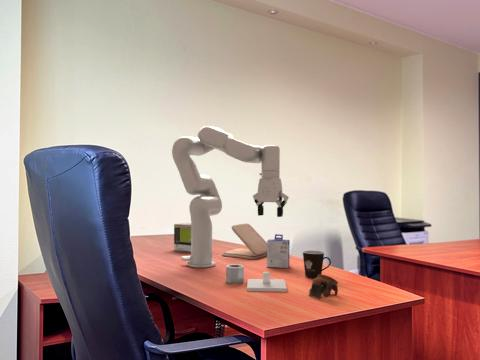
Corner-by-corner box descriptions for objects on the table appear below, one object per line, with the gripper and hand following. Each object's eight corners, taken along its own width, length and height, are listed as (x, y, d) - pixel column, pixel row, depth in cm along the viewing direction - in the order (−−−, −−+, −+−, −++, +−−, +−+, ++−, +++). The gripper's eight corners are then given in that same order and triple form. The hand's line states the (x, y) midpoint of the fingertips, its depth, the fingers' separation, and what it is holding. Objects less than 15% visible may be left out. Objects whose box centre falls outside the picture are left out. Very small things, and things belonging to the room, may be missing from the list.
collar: (225, 283, 169) (225, 267, 169) (227, 279, 176) (227, 264, 176) (243, 283, 169) (243, 267, 169) (243, 279, 176) (243, 264, 175)
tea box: (206, 250, 247) (206, 223, 247) (194, 252, 238) (195, 225, 238) (184, 248, 255) (185, 222, 255) (173, 250, 246) (173, 223, 246)
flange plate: (246, 291, 158) (247, 276, 158) (247, 281, 172) (248, 268, 172) (286, 291, 158) (286, 277, 158) (284, 282, 172) (284, 269, 172)
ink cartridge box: (289, 266, 204) (290, 234, 204) (288, 268, 199) (289, 235, 199) (268, 265, 206) (268, 233, 206) (266, 267, 201) (266, 235, 201)
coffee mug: (298, 275, 185) (298, 251, 185) (316, 273, 188) (316, 250, 188) (314, 281, 174) (314, 255, 174) (332, 279, 177) (332, 254, 177)
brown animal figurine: (303, 294, 156) (311, 272, 158) (326, 306, 157) (334, 284, 159) (316, 294, 144) (324, 270, 147) (341, 306, 145) (349, 283, 148)
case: (255, 260, 219) (256, 227, 219) (219, 256, 229) (220, 225, 229) (273, 254, 237) (274, 224, 237) (239, 251, 247) (239, 222, 247)
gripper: (248, 174, 189) (248, 215, 189) (283, 174, 178) (282, 217, 178) (259, 175, 195) (258, 214, 195) (293, 175, 184) (292, 216, 184)
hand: (270, 216), depth 187 cm, fingers open, 9 cm apart
